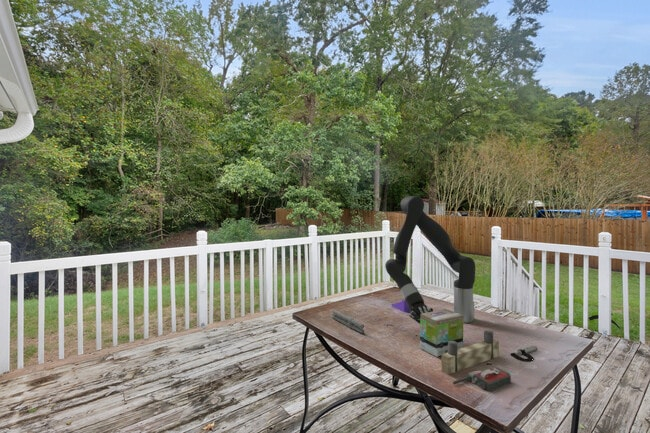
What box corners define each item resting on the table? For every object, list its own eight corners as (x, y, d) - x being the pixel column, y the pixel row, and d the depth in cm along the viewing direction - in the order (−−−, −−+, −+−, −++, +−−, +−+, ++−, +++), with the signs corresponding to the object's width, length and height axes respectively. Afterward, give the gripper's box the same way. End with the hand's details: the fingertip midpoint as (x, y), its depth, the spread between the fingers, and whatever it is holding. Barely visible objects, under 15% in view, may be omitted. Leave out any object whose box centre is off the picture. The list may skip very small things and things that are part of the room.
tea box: (437, 358, 127) (437, 320, 126) (419, 348, 135) (419, 313, 135) (464, 349, 133) (464, 314, 133) (445, 340, 142) (444, 307, 142)
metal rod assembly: (331, 319, 173) (331, 309, 173) (336, 318, 175) (336, 309, 174) (360, 335, 151) (360, 324, 151) (365, 333, 152) (365, 323, 152)
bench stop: (491, 353, 130) (491, 328, 130) (499, 356, 127) (499, 331, 127) (441, 370, 117) (441, 343, 117) (448, 374, 114) (448, 346, 114)
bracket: (414, 310, 185) (413, 298, 184) (404, 312, 182) (404, 300, 182) (400, 305, 196) (400, 293, 195) (391, 306, 193) (391, 295, 193)
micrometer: (525, 364, 121) (525, 357, 121) (508, 356, 128) (508, 350, 128) (551, 356, 127) (551, 350, 127) (533, 349, 134) (533, 343, 134)
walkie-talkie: (491, 371, 117) (450, 385, 108) (491, 359, 117) (450, 372, 108) (514, 383, 109) (473, 399, 100) (514, 370, 109) (472, 385, 100)
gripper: (404, 293, 144) (424, 329, 134) (426, 289, 150) (447, 324, 140) (396, 302, 149) (415, 337, 139) (418, 298, 155) (438, 331, 145)
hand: (431, 330), depth 139 cm, fingers closed
